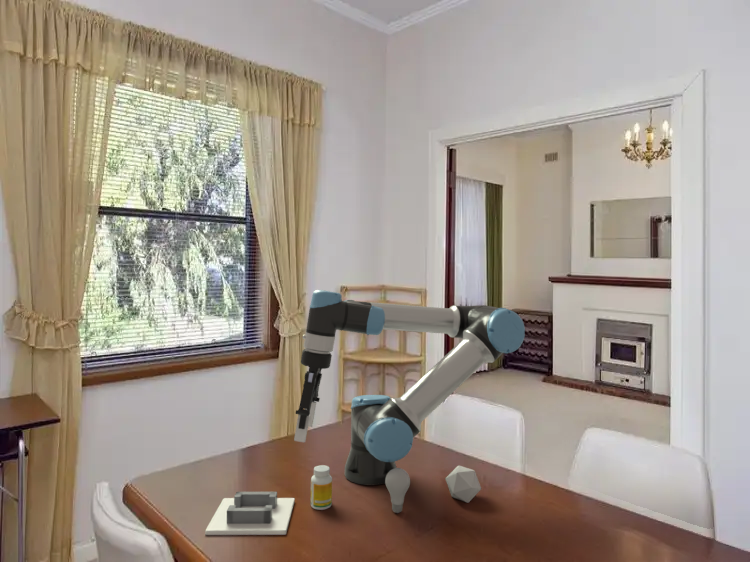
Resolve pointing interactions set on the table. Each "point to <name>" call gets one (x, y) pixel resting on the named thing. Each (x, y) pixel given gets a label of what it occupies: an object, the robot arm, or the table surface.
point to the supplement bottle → (321, 488)
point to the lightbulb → (397, 487)
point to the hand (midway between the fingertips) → (303, 433)
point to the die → (463, 483)
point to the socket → (252, 515)
